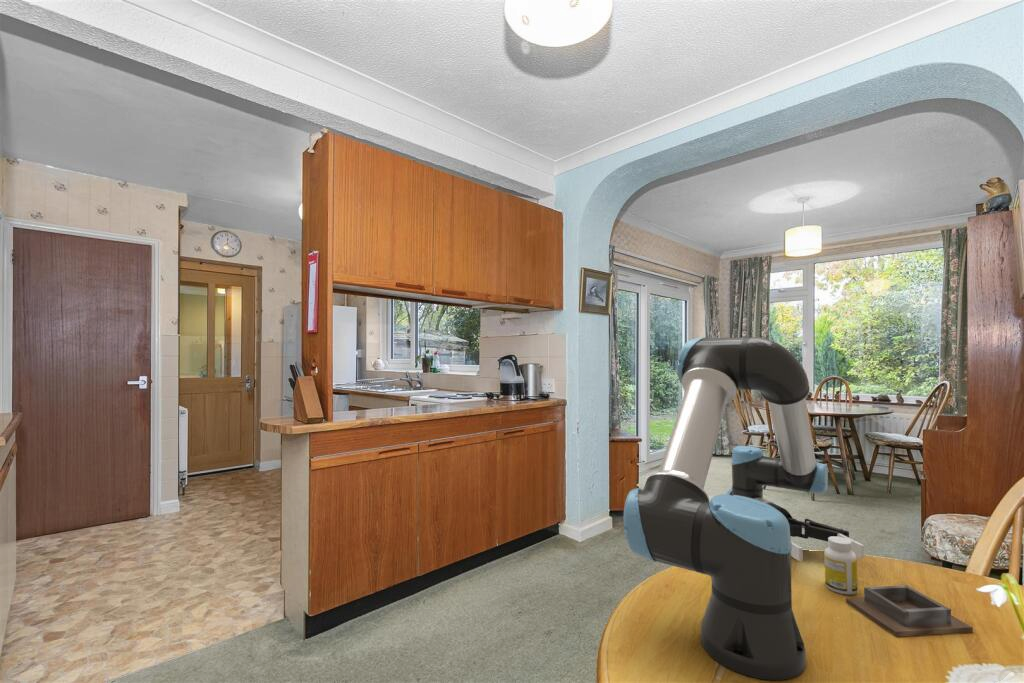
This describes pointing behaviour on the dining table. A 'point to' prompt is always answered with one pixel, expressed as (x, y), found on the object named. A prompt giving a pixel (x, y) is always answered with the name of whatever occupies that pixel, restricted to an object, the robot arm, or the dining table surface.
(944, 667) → the dining table surface
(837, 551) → the supplement bottle
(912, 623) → the collar holder
